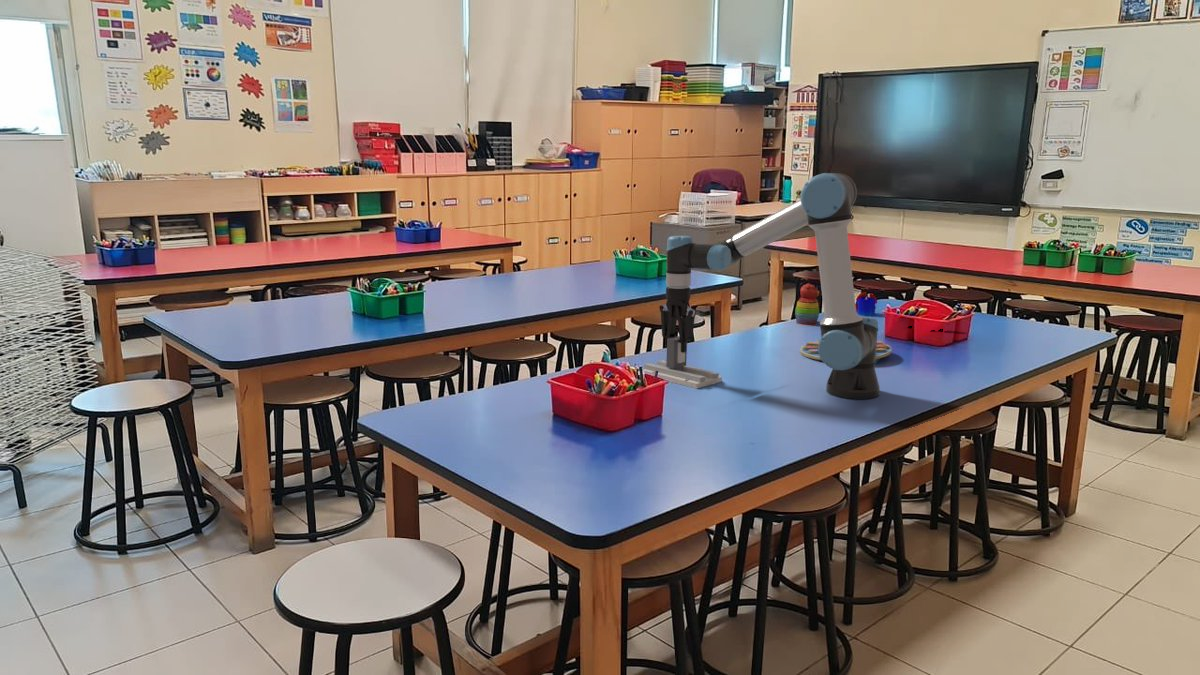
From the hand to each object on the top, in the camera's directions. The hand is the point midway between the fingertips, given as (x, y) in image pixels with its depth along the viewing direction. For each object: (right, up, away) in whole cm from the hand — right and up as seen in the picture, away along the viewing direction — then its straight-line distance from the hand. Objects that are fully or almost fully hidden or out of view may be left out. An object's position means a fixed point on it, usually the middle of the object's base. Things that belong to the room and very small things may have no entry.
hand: (676, 361), depth 271 cm
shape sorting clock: (+61, 0, +31) cm, 68 cm away
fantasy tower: (+88, +14, +98) cm, 132 cm away
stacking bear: (+60, +11, +80) cm, 100 cm away
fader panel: (+1, -5, 0) cm, 5 cm away
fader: (0, -3, +1) cm, 3 cm away
